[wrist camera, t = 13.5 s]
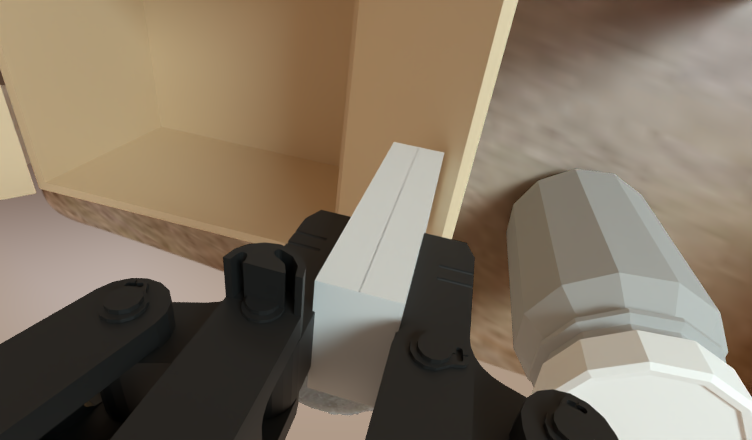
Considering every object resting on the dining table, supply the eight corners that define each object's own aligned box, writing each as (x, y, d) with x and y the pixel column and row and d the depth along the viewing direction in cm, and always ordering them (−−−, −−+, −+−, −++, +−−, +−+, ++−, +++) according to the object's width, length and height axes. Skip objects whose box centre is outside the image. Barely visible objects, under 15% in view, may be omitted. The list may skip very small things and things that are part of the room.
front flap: (398, 404, 18) (406, 401, 18) (571, -259, 7) (588, -252, 8) (332, 269, 24) (339, 268, 24) (376, -176, 14) (387, -173, 14)
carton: (430, -114, 25) (388, -171, 15) (383, 179, 35) (340, 265, 25) (121, -156, 27) (-98, -230, 17) (161, 128, 37) (39, 188, 27)
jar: (545, 142, 30) (599, 314, 15) (675, 193, 30) (862, 420, 15) (485, 245, 36) (481, 448, 21) (595, 289, 35) (673, 528, 20)
